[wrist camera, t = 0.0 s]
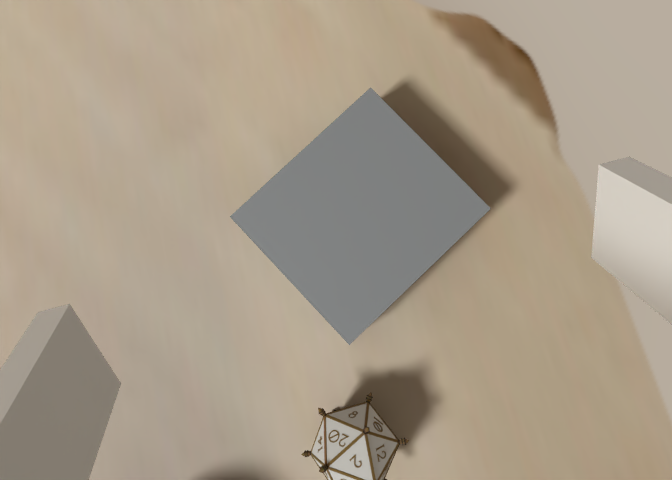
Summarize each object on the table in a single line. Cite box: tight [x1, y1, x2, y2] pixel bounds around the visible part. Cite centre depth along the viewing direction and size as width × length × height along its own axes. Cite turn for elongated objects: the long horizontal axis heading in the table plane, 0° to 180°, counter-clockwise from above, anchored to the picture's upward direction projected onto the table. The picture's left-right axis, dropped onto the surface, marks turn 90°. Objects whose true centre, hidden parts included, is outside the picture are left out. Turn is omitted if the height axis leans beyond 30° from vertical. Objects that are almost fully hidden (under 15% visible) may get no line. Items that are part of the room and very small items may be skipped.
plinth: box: [230, 88, 491, 345], centre depth 46 cm, size 16×18×5 cm
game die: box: [302, 393, 409, 480], centre depth 42 cm, size 9×8×10 cm
